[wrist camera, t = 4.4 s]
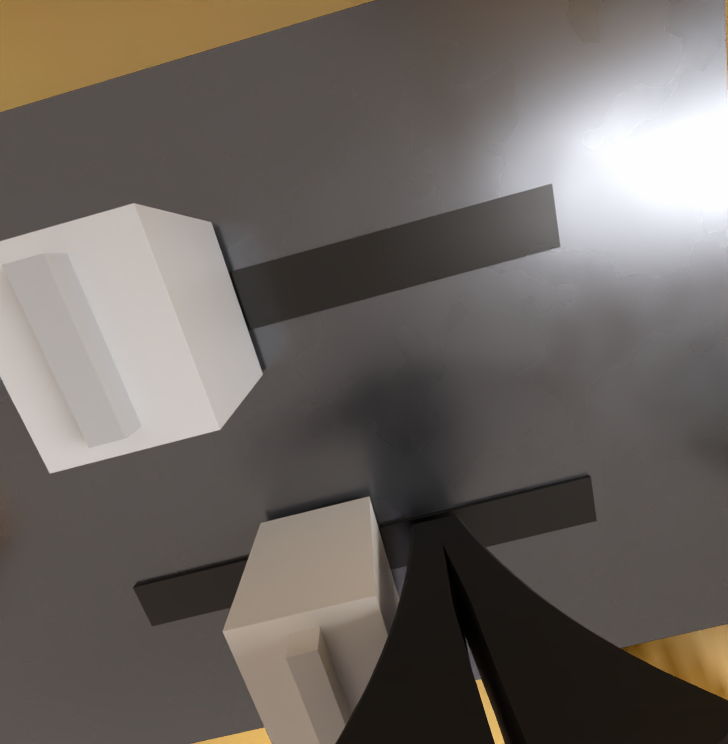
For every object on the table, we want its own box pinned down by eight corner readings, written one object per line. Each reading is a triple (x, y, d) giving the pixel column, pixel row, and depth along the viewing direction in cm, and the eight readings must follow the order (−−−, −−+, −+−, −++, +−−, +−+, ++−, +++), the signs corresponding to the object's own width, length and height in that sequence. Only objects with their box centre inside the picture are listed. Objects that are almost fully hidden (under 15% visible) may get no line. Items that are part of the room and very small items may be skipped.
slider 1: (263, 374, 10) (210, 442, 6) (146, 405, 10) (27, 489, 7) (211, 222, 9) (114, 198, 6) (83, 258, 9) (-96, 258, 6)
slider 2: (400, 604, 12) (421, 760, 8) (300, 627, 12) (276, 791, 8) (369, 496, 11) (377, 618, 7) (260, 523, 11) (213, 655, 8)
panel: (703, 583, 14) (767, 643, 12) (-111, 768, 16) (-187, 853, 13) (666, -50, 10) (760, -142, 7) (-487, 291, 11) (-700, 299, 9)
